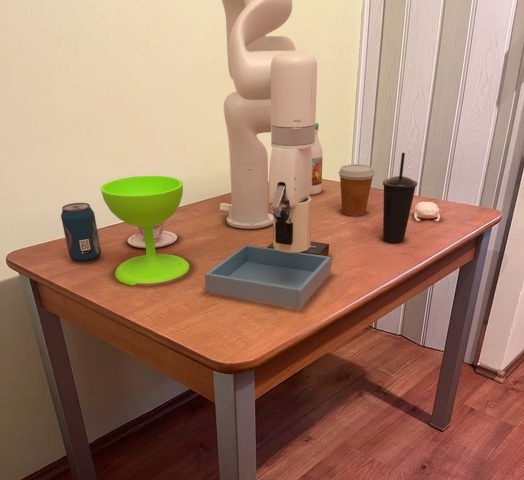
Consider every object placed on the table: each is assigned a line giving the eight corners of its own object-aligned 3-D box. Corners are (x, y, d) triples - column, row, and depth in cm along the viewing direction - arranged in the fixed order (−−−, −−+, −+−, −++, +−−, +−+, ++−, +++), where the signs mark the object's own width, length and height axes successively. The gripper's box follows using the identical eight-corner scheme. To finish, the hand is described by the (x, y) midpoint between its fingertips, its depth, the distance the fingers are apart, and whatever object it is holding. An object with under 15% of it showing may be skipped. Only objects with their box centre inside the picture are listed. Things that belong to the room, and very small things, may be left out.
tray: (205, 293, 105) (204, 274, 103) (245, 262, 118) (244, 244, 116) (300, 311, 98) (300, 290, 95) (330, 275, 111) (331, 256, 109)
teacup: (117, 241, 131) (113, 216, 128) (157, 229, 139) (154, 205, 135) (147, 253, 124) (144, 227, 121) (187, 239, 132) (185, 214, 128)
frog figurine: (441, 222, 140) (443, 207, 138) (414, 221, 141) (416, 207, 139) (436, 213, 147) (438, 199, 145) (411, 212, 148) (412, 198, 146)
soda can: (68, 256, 123) (57, 204, 117) (99, 251, 125) (90, 200, 119) (72, 266, 118) (60, 212, 111) (104, 261, 120) (94, 208, 114)
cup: (268, 249, 100) (267, 201, 96) (281, 238, 106) (282, 192, 101) (302, 254, 98) (303, 205, 93) (314, 242, 103) (316, 195, 99)
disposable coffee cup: (376, 210, 150) (380, 166, 143) (362, 219, 143) (366, 173, 137) (345, 205, 154) (348, 162, 148) (330, 214, 147) (332, 169, 141)
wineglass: (125, 257, 122) (113, 175, 113) (195, 256, 122) (188, 175, 112) (105, 286, 108) (89, 196, 99) (184, 286, 108) (175, 196, 99)
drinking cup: (410, 246, 125) (422, 157, 115) (376, 244, 127) (385, 156, 116) (409, 235, 132) (420, 150, 121) (377, 234, 133) (385, 149, 123)
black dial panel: (265, 260, 119) (265, 247, 117) (280, 248, 125) (280, 235, 124) (317, 268, 115) (317, 254, 113) (329, 255, 121) (330, 242, 119)
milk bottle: (295, 194, 165) (296, 125, 155) (297, 188, 172) (299, 121, 161) (320, 195, 164) (323, 125, 154) (322, 189, 170) (324, 121, 160)
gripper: (291, 127, 100) (290, 221, 109) (251, 143, 86) (254, 249, 95) (329, 129, 97) (325, 225, 106) (294, 146, 84) (293, 255, 93)
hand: (291, 236), depth 101 cm, fingers closed on cup, 6 cm apart
